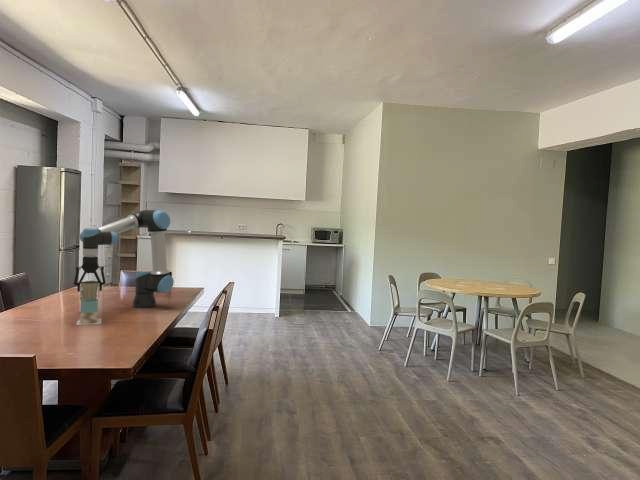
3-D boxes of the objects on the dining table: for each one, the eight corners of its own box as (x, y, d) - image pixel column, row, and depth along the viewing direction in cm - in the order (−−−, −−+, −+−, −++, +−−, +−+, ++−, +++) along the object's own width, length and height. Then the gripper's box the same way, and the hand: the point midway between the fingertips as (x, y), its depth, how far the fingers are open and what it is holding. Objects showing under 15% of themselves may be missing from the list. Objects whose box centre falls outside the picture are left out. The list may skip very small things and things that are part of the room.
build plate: (101, 320, 253) (101, 318, 253) (100, 325, 243) (101, 323, 243) (77, 321, 248) (77, 320, 248) (76, 326, 238) (76, 324, 238)
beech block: (97, 319, 251) (97, 309, 250) (97, 322, 244) (97, 312, 243) (81, 320, 247) (81, 309, 247) (80, 323, 240) (80, 312, 240)
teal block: (97, 309, 250) (97, 298, 250) (97, 312, 243) (97, 301, 243) (81, 309, 247) (81, 299, 247) (80, 312, 240) (80, 301, 240)
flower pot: (79, 299, 239) (79, 283, 238) (80, 296, 247) (80, 281, 246) (99, 298, 243) (99, 283, 242) (99, 295, 251) (99, 280, 251)
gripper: (111, 255, 252) (110, 295, 253) (69, 255, 243) (68, 296, 244) (111, 256, 245) (110, 297, 246) (67, 256, 236) (67, 299, 237)
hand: (89, 297), depth 245 cm, fingers closed on flower pot, 8 cm apart
